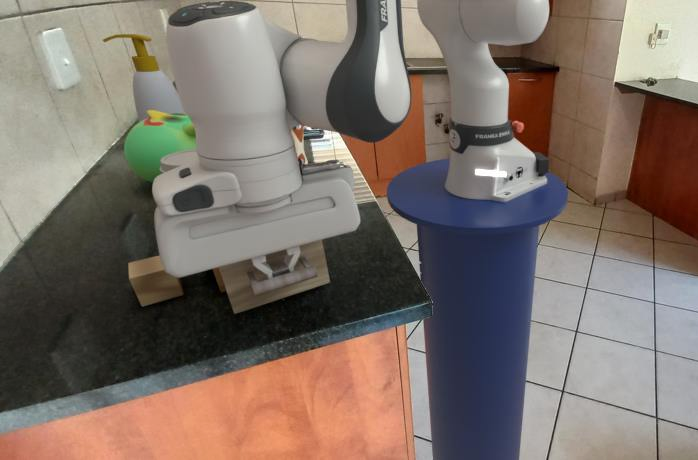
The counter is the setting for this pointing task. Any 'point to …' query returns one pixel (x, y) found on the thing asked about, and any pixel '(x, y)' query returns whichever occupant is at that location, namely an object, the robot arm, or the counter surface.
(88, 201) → the counter surface
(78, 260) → the counter surface
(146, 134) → the toy bird
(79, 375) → the counter surface
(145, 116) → the soap bottle
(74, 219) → the counter surface
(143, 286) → the block
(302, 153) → the beer glass
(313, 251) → the drawer
